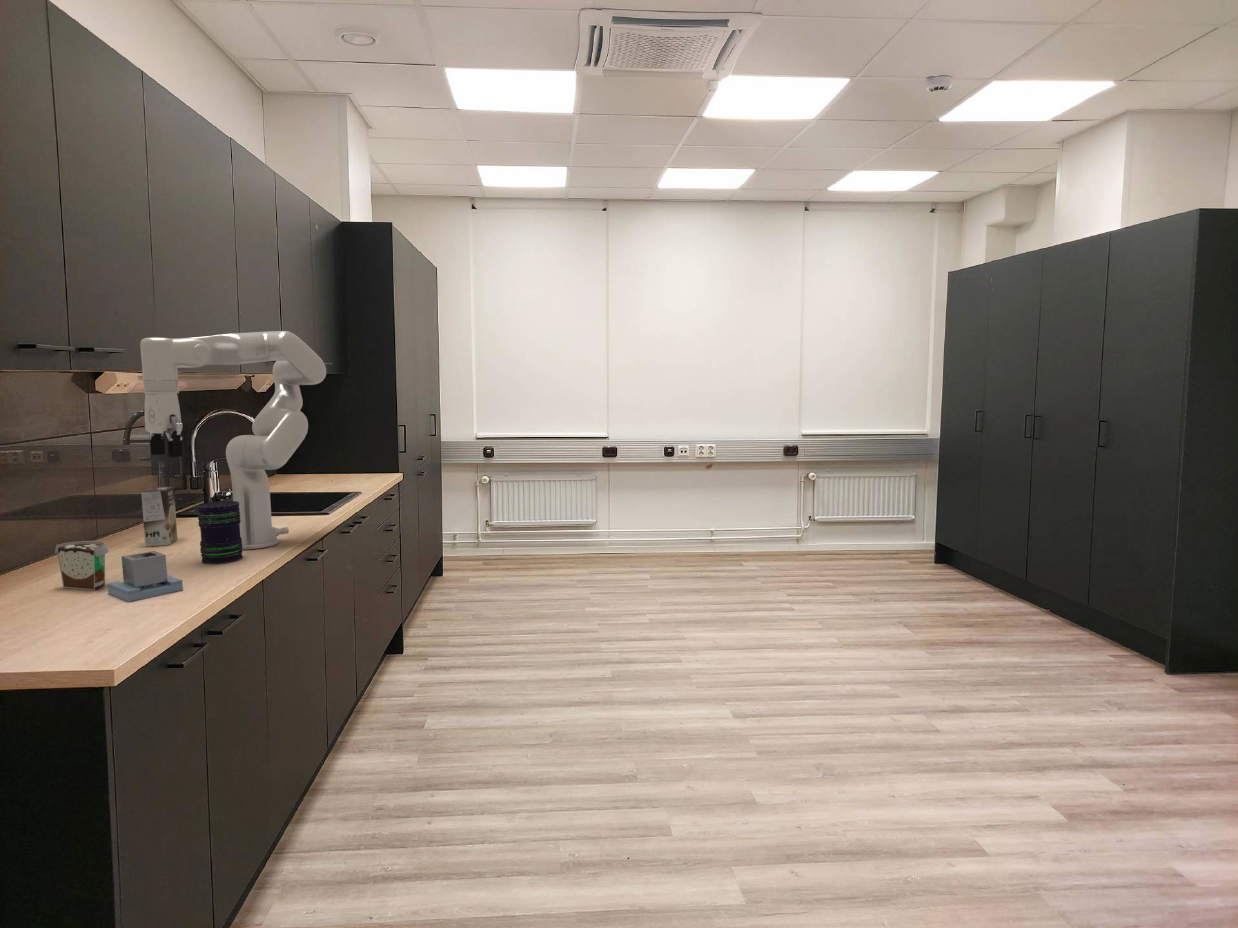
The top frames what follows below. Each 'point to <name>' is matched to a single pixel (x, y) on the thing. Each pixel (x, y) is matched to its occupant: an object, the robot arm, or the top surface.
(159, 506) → the coffee box
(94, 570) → the food container
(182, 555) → the top surface
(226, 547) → the dark blue barrel
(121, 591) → the shaft block
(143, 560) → the grey hollow block
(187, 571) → the top surface
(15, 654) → the top surface
